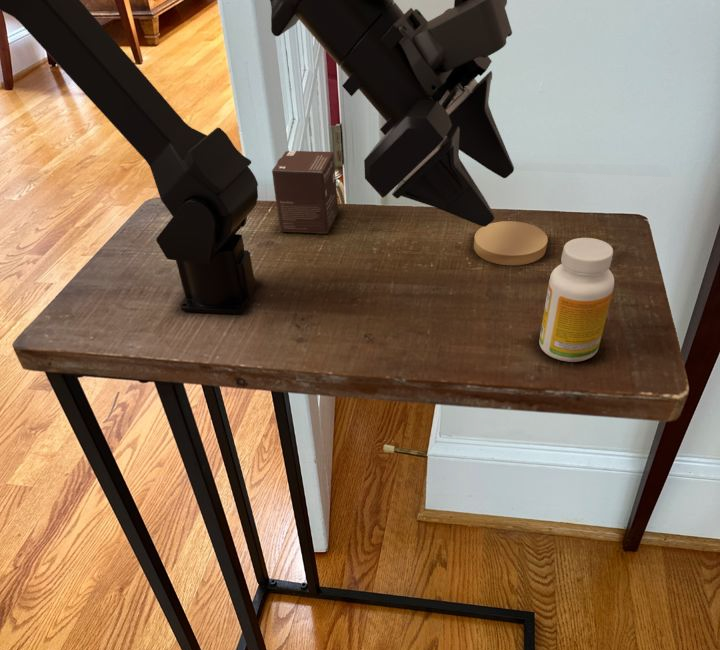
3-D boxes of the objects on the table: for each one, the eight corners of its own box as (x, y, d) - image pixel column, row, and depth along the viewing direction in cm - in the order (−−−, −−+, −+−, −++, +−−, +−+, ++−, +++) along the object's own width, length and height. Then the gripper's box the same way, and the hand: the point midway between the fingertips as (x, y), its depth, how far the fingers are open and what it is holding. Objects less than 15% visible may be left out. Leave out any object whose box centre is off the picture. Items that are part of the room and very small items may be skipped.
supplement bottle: (610, 353, 63) (637, 254, 56) (562, 370, 61) (583, 271, 54) (573, 324, 66) (594, 227, 59) (526, 339, 65) (542, 242, 58)
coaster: (472, 264, 75) (472, 253, 74) (475, 229, 80) (476, 219, 79) (547, 267, 74) (548, 256, 73) (545, 232, 79) (546, 222, 78)
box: (327, 235, 81) (322, 172, 75) (278, 232, 82) (270, 170, 76) (339, 212, 85) (334, 150, 80) (292, 210, 86) (285, 149, 81)
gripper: (409, -33, 39) (572, 179, 44) (474, -84, 51) (596, 87, 56) (296, 108, 47) (447, 275, 52) (376, 34, 59) (492, 175, 64)
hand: (500, 197), depth 56 cm, fingers open, 9 cm apart
